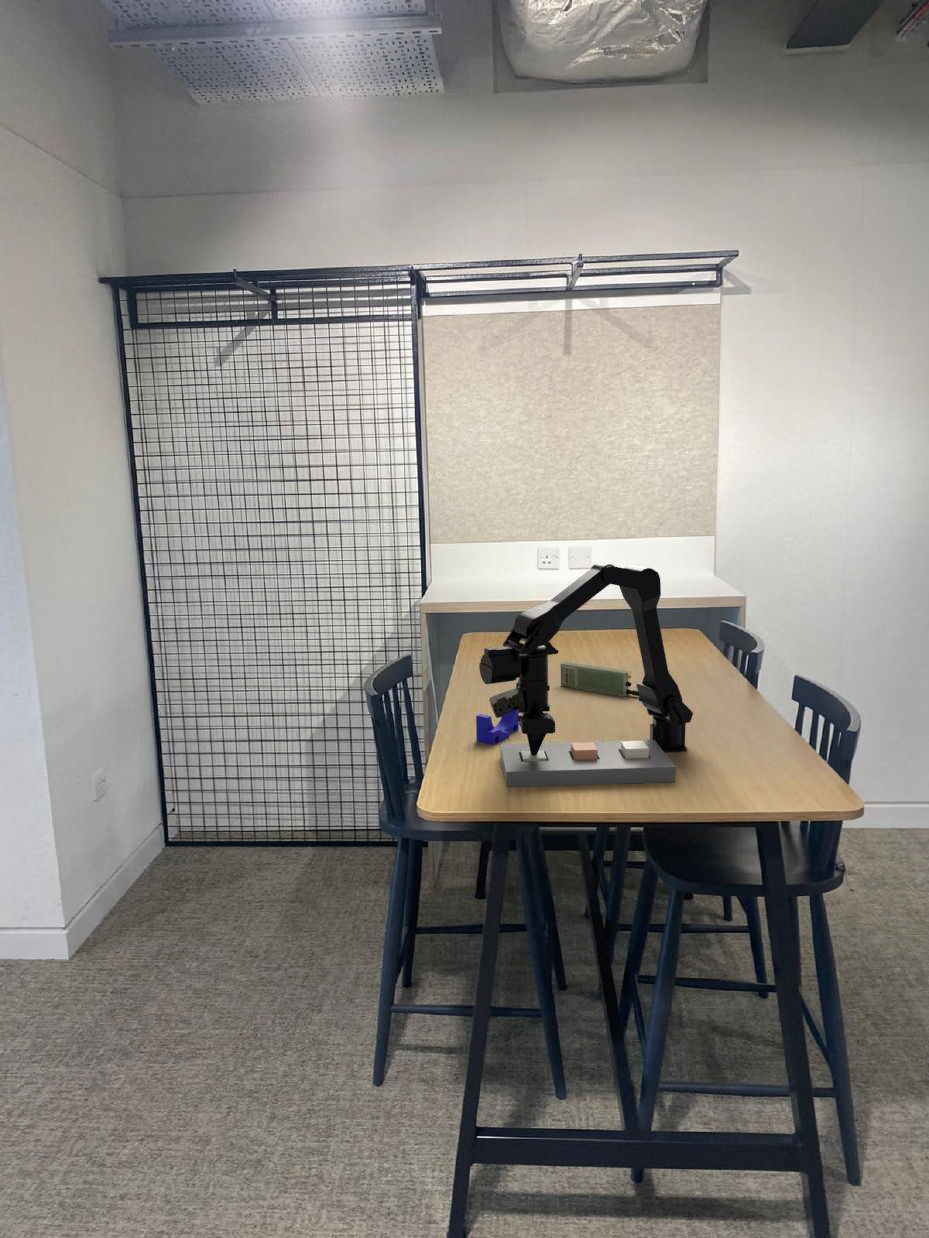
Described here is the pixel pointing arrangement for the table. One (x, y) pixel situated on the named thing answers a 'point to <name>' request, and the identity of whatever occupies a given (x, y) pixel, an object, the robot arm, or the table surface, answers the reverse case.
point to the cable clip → (496, 728)
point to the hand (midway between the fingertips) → (533, 754)
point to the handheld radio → (596, 679)
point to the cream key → (634, 749)
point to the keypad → (584, 765)
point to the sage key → (532, 756)
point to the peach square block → (584, 751)
